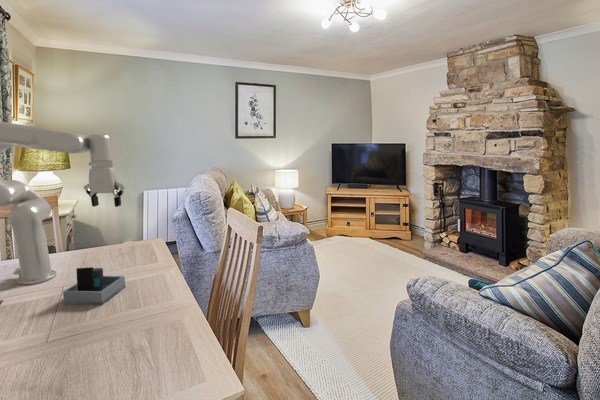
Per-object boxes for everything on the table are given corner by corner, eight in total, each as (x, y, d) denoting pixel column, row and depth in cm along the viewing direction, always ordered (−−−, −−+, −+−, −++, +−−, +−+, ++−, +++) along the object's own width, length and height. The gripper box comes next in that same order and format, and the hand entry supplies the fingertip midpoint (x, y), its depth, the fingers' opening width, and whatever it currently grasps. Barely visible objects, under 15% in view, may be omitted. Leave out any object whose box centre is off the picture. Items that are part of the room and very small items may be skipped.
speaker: (91, 298, 114) (88, 269, 114) (77, 297, 116) (75, 268, 115) (108, 290, 122) (106, 263, 121) (95, 290, 123) (92, 263, 122)
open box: (64, 303, 113) (62, 291, 113) (91, 286, 127) (90, 275, 126) (102, 304, 113) (101, 292, 112) (125, 287, 126) (124, 276, 125)
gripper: (75, 165, 131) (80, 207, 134) (117, 165, 130) (121, 208, 133) (88, 164, 139) (92, 204, 142) (127, 164, 138) (131, 204, 141)
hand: (106, 206), depth 138 cm, fingers open, 9 cm apart
